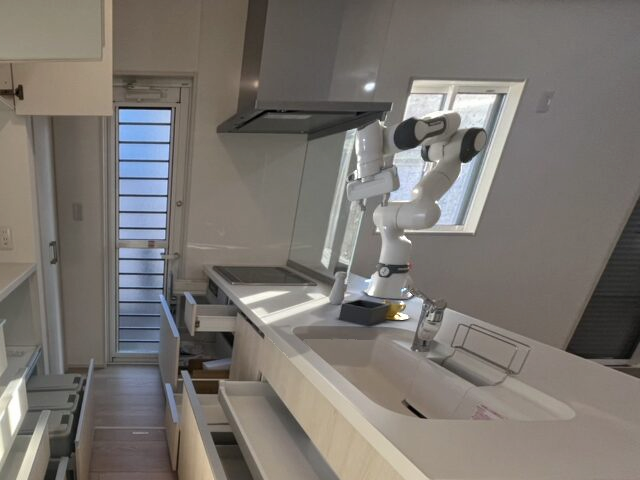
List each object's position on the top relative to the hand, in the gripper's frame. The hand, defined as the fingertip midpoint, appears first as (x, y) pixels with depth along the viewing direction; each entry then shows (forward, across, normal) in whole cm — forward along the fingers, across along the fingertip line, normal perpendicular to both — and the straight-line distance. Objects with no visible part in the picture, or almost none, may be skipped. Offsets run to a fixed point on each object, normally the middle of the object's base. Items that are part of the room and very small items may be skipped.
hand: (373, 209), depth 157 cm
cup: (+38, -15, +13) cm, 43 cm away
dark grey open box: (+35, -14, +25) cm, 46 cm away
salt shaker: (+34, +9, +14) cm, 38 cm away
